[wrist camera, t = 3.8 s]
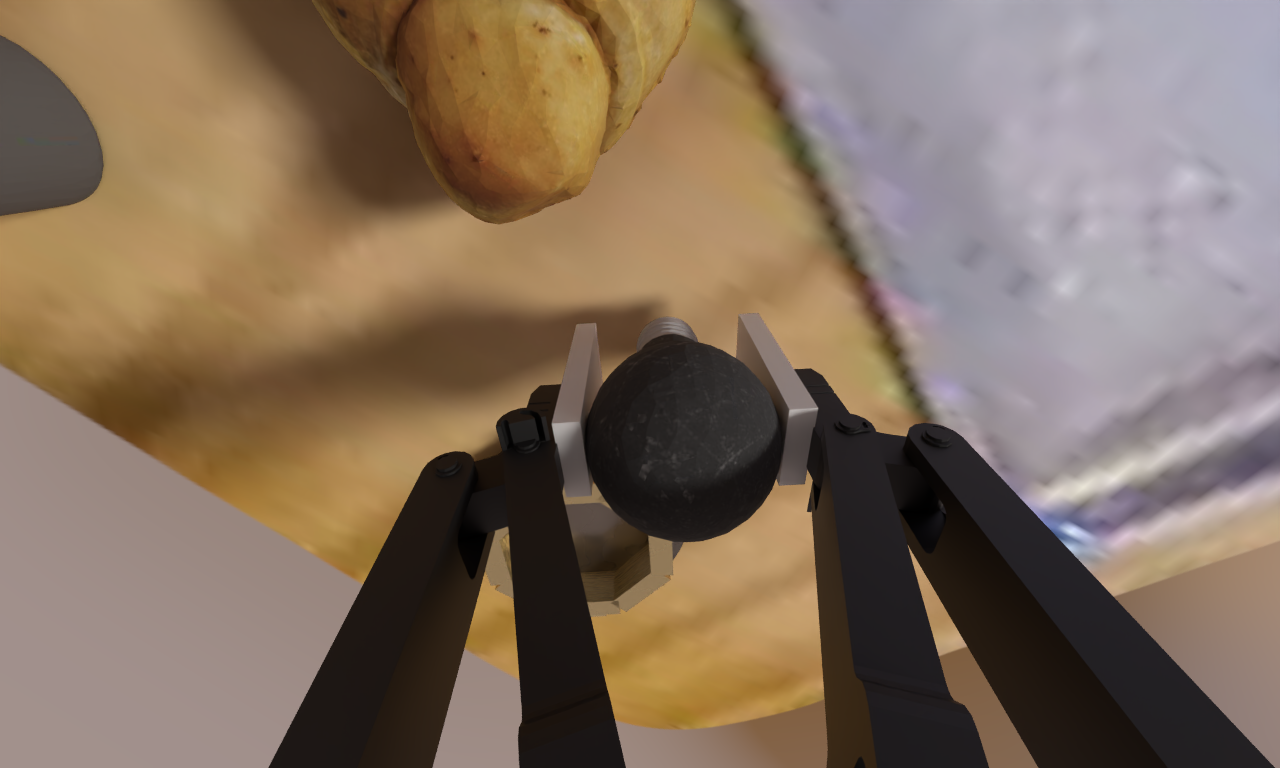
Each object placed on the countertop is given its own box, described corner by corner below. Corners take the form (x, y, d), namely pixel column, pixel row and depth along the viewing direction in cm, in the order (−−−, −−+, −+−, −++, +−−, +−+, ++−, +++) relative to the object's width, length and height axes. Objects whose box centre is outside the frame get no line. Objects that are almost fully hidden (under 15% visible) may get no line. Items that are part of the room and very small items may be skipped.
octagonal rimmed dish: (455, 429, 24) (430, 473, 21) (683, 415, 24) (691, 458, 21) (504, 581, 30) (490, 633, 27) (685, 571, 30) (691, 622, 27)
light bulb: (576, 354, 20) (534, 541, 11) (646, 243, 17) (662, 374, 9) (681, 410, 21) (715, 611, 13) (758, 316, 19) (865, 486, 10)
